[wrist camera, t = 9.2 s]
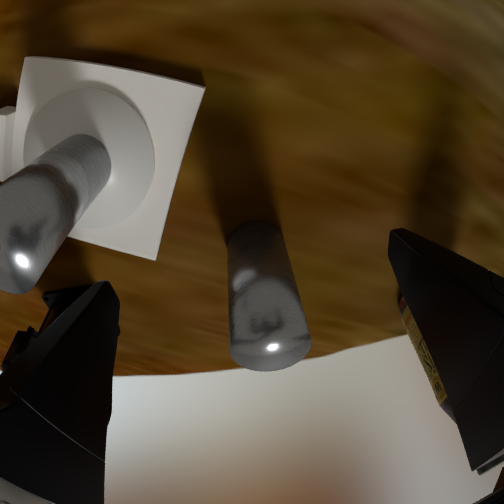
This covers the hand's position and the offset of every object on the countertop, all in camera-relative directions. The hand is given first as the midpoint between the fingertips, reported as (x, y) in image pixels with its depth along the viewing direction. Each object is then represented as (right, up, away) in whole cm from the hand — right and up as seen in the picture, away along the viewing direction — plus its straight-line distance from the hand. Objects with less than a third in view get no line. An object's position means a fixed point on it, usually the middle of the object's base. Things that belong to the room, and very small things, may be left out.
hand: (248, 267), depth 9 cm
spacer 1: (-11, +6, +9) cm, 15 cm away
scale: (-12, +7, +10) cm, 17 cm away
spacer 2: (0, +1, +15) cm, 15 cm away
